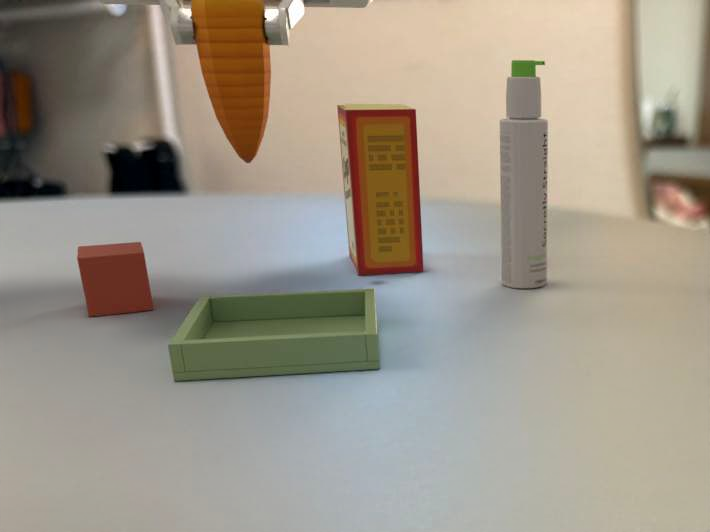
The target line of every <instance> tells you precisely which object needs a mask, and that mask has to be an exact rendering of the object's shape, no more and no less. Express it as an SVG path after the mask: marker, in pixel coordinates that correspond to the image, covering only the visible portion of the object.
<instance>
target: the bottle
mask: <svg viewBox="0 0 710 532" xmlns="http://www.w3.org/2000/svg"><path fill="white" fill-rule="evenodd" d="M545 65H546V61H545V60H532V59H527V60H526V59H513V60H511V68H510V69H511V71H510V72H511V73H510V76H507V77H506V90H505V117H506V118H501V119H499V172H500V174H499V175H500V177H499V178H500V179H499V180H500V182H499V183H500V246H501V247H500V249H501V253H500V255H501V257H500V258H501V284H502V285H503V286H505V287H507V288H513V289H520V290H521V289H522V290H523V289H526V290H527V289H537V288H541V287H544V286H546V284H547V282H548V174H549V173H548V172H549V171H548V169H549V168H548V163H549V162H548V161H549V160H548V158H549V156H548V155H549V153H548V152H549V145H548V143H549V121H548V119H546V118H542V87H541V77H539V76H537V72H536V71H537V69H536V66H545Z"/></svg>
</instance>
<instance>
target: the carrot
mask: <svg viewBox="0 0 710 532" xmlns="http://www.w3.org/2000/svg"><path fill="white" fill-rule="evenodd" d="M190 8H191V15H192V20H193V22H194V29H195V39H196V50H197V55H198V59H199V66H200V71H201V74H202V77H203V78H202V79H203V81H204V85H205V88H206V91H207V95H208V97H209V101H210V103H211V106H212V108H213V112H214V114H215V117H216V118H215V119H216V120H217V122H218V124H219V126H220V127H221V129H222V130H221V131H223V133H224V135H225V138H226V140H228V142H229V144H230V145H231V147H232V148H233V150H234V151H235V153H236V155H237V156H238V157H239V159H241V160H242V161H243V162H244V163H246V164H251V163H252V162H253V161H254V159H255V158H256V157H257V154H258V152H259V149H260V147H261V143H262V141H263V138H264V136H265V131H266V127H267V123H268V119H269V112H270V110H269V109H270V98H271V83H272V82H271V81H272V66H271V48H270V46H271V45H268V43H267V36H266V33H265V24H264V21H265V17H264V9H266V6H264V3H263V2H262V1H261V0H192V4H191V5H190Z"/></svg>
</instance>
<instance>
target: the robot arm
mask: <svg viewBox="0 0 710 532" xmlns="http://www.w3.org/2000/svg"><path fill="white" fill-rule="evenodd" d="M95 1H96V2H98V3H99V4H103V5H129V6H130V5H133V6H134V5H136V6H139V5H140V6H141V5H142V6H160V9H161V13H163V15H164V16H165V17H166V19H167V20H168V21H169V25H170V31H171V34H172V38H173V41H174V43H175V45H176V46H181V45H182V46H183V45H184V46H186V45H188V46H191V45H193V46H195V45H196V39H195V29H194V22H193V20H192V15H191V7H184V6H191V4H192V0H95ZM261 1H262V2H263V3H264V6H265V7H270V8H265V9H264V17H265V21H264V24H265V33H266V36H267V43H268V45H269V46H290V43H291V42H290V30H292V29H293V28H294V26H295V25H297V23H298V21H300V19H302V17H303V16H304V15H305V8H337V9H338V8H340V9H341V8H343V9H344V8H345V9H346V8H347V9H348V8H350V9H364V8H367V7H368V6H369V5H370V4H372V3H373V1H374V0H261ZM271 7H272V8H271ZM273 7H275V8H273ZM196 46H197V45H196Z"/></svg>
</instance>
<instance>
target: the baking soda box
mask: <svg viewBox="0 0 710 532" xmlns="http://www.w3.org/2000/svg"><path fill="white" fill-rule="evenodd" d="M336 106H337V119H338V131H339V132H338V133H339V144H340V154H341V155H340V156H341V157H340V158H341V169H342V181H343V182H342V183H343V193H344V205H345V219H346V229H347V243H348V254H349V255H348V257H349V258H350V260H351V263H352V264H353V266H354V269H355V272H356V273H357V276H375V275H390V274H391V275H393V274H405V273H408V274H409V273H423V272H424V252H423V249H424V248H423V232H422V231H423V230H422V229H423V228H422V211H421V210H422V209H421V208H422V207H421V191H420V190H421V189H420V169H419V148H418V146H419V145H418V128H417V126H418V125H417V109H416V108H413V107H411V106H408V105H406V104H399V103H398V104H394V103H393V104H392V103H391V104H389V103H385V104H383V103H381V104H380V103H345V102H344V104H337V105H336Z"/></svg>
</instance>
